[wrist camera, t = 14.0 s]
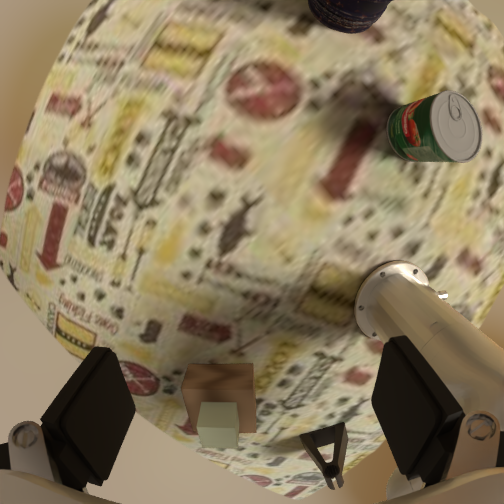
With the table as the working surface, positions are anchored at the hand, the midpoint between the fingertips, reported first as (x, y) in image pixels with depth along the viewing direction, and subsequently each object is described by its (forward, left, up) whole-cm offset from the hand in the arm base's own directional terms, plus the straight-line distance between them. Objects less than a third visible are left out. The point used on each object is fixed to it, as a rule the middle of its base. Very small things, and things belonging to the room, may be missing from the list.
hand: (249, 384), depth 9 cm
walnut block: (+6, +26, -28) cm, 39 cm away
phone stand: (-12, +42, -29) cm, 52 cm away
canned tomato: (-22, -12, -28) cm, 38 cm away
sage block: (+6, +26, -22) cm, 35 cm away
